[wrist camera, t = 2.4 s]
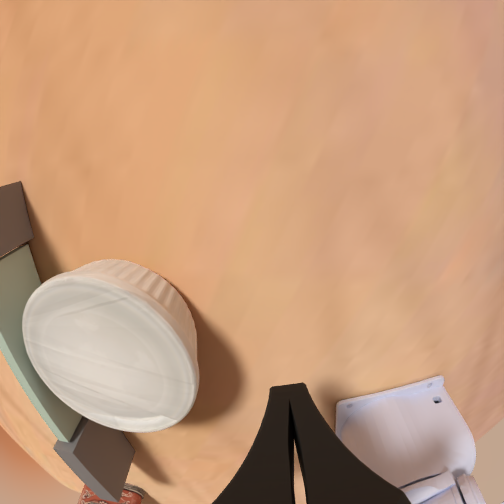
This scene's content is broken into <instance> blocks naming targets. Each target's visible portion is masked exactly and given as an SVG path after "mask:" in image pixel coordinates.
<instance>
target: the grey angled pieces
mask: <svg viewBox="0 0 504 504" xmlns="http://www.w3.org/2000/svg"><path fill="white" fill-rule="evenodd" d="M32 238H34V235H33V232H32V228H31V224H30V221H29V217H28V213H27V209H26V204H25V200H24V195H23V191H22V186H21V181H19V182H16V183H12V184H8V185H5V186H2V187H0V257H1V256H3V255H4V254H6V253H8V252H9V251H11V250H13V249H15V248H16V247H18V246H20V245H22V244H23V243H25V242H27V241H29V240H31V239H32ZM53 449H54V450H55V451H56V452H57V454H58V455H59V456H60V457H61V458H62V459H63V461H64V462H65V463H66V464H67V465H68V466H69V467H70V468H71V470H72V471H73V472H74V473H75V474H76V475H77V476H78V477H79V478H80V479H81V480H82V481H83V482H84V483H85V484H86V485H87V486H88V487H89V488H90V489H91V490H92V491H93V492H94V493H95V494H96V495H97V496H98V497H99V498H100V499H103V500H107V501H112V502H117V503H119V501H120V498H121V494H122V491H123V488H124V485H125V481H126V478H127V475H128V472H129V469H130V466H131V462H132V459H133V456H134V453H135V450H134V449H133V448H132V446H131V445H130V443H129V442H128V440H127V439H126V437H125V436H124V434H123V432H122V431H121V430H117V429H113V428H110V427H107V426H104V425H101V424H99V423H96V422H94V421H92V420H90V419H88V418H86V417H85V416H82V418H81V420H80V422H79V424H78V426H77V428H76V429H75V431H74V433H73V435H72V437H71V439H70V441H69V443H68V442H63V441H59V440H57V442H56V444H55V446H54V448H53Z"/></svg>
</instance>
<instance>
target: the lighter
mask: <svg viewBox="0 0 504 504" xmlns="http://www.w3.org/2000/svg"><path fill="white" fill-rule="evenodd" d="M144 494H145V491H144V490H143V489H142V488H140V487H138V486H135V485H132V484H128V483H125V485H124V488H123V491H122V494H121V498H120V501H119V503H117V502H112V501H107V500H103V499H100V498H99V497H98V496H97V495H96V494H95V493H94V492H93V491H92V490H91V489H90V488H89V487H88V486H87V485H86V484H85V485H84V488H83V491H82V493H81V496H80V499H79V501H78V504H141V500H142V499H143V498H144Z"/></svg>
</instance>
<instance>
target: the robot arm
mask: <svg viewBox="0 0 504 504" xmlns="http://www.w3.org/2000/svg"><path fill="white" fill-rule="evenodd" d="M443 383H444V377H443V376H442V375H439V376H436V377H432V378H429V379H426V380H423V381H419V382H416V383H412V384H409V385H405V386H401V387H398V388H394V389H390V390H386V391H382V392H378V393H373V394H369V395H365V396H360V397H355V398H350V399H345V400H341V401H339V402H338V403H337V405H336V428H335V433H334V432H333V431H332V429H331V428H330V427H329V425H328V424H327V423H326V421H325V420H324V418H323V417H322V415H321V414H320V412H319V411H318V409H317V407H316V406H315V404H314V402H313V400H312V398H311V396H310V394H309V392H308V389H307V387H306V384H304V383H297V384H290V385H282V386H274V387H271V388H270V392H269V399H268V404H267V408H266V411H265V415H264V418H263V421H262V423H261V426H260V429H259V431H258V434H257V436H256V438H255V441H254V443H253V445H252V447H251V449H250V451H249V453H248V455H247V457H246V458H245V460H244V462H243V464H242V465H241V467H240V468H239V470H238V471H237V473H236V474H235V476H234V477H233V479H232V480H231V481H230V483H229V484H228V485H227V487H226V488H225V489H224V490H223V491H222V493H221V494H220V495H219V496H218V497H217V499H216V500H215V501H214V502H213V503H212V504H295V494H294V441H295V445H296V450H297V454H298V458H299V463H300V467H301V472H302V476H303V481H304V486H305V494H306V503H307V504H486V502H485V500H484V498H483V496H482V494H481V492H480V489H479V487H478V485H477V483H476V481H475V479H474V477H473V476H470V474H471V473H472V471H473V468H474V465H475V460H476V449H475V443H474V439H473V436H472V433H471V431H470V429H469V427H468V426H467V424H466V422H465V421H464V419H463V417H462V416H461V414H460V412H459V411H458V409H457V407H456V406H455V404H454V402H453V401H452V399H451V398H450V396H449V394H448V393H447V391H446V390H445V388H444V387H443ZM348 404H349V405H348ZM501 504H504V502H502V503H501Z"/></svg>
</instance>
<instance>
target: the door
mask: <svg viewBox="0 0 504 504" xmlns="http://www.w3.org/2000/svg"><path fill="white" fill-rule="evenodd" d="M41 285H42V284H41V282H40V279H39V276H38V273H37V270H36V267H35V264H34V261H33V258H32V255H31V252H30V248H29V245H28V244H27V245H23V246H19V247H17V248H16V249H14V250H12V251H10V252H9V253H7V254H5V255H4V256H2V257H0V349H1V351H2V353H3V355H4V357H5V359H6V361H7V362H8V364H9V366H10V368H11V370H12V371H13V373H14V375H15V376H16V378H17V380H18V382H19V383H20V385H21V386H22V388H23V390H24V391H25V393H26V394H27V396H28V398H29V399H30V401H31V402H32V404H33V405H34V407H35V408H36V410H37V411H38V413H39V414H40V415H41V417H42V418H43V420H44V421H45V422H46V424H47V425H48V427H49V428H50V429H51V431H52V432H53V433H54V435H55V436H56V437H57V438H58V440H59V441H63V442H68V443H69V441H70V439H71V437H72V435H73V433H74V431H75V429H76V428H77V426H78V424H79V422H80V420H81V418H82V416H83V415H81V414H80V413H78V412H76V411H75V410H73V409H72V408H71V407H69V406H68V405H67V404H65V403H64V402H63V401H62V400H61V399H59V398H58V397H57V396H56V395H55V394H54V393H53V392H52V391H51V390H50V389H49V387H48V386H47V385H46V384H45V383H44V381H43V380H42V379H41V377H40V376H39V374H38V373H37V371H36V370H35V368H34V366H33V364H32V363H31V361H30V358H29V356H28V354H27V351H26V347H25V343H24V338H23V331H22V321H23V313H24V309H25V307H26V304H27V302H28V300H29V298H30V296H31V295H32V294H33V292H34V291H35V290H36V289H37V288H38V287H40V286H41Z"/></svg>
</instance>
